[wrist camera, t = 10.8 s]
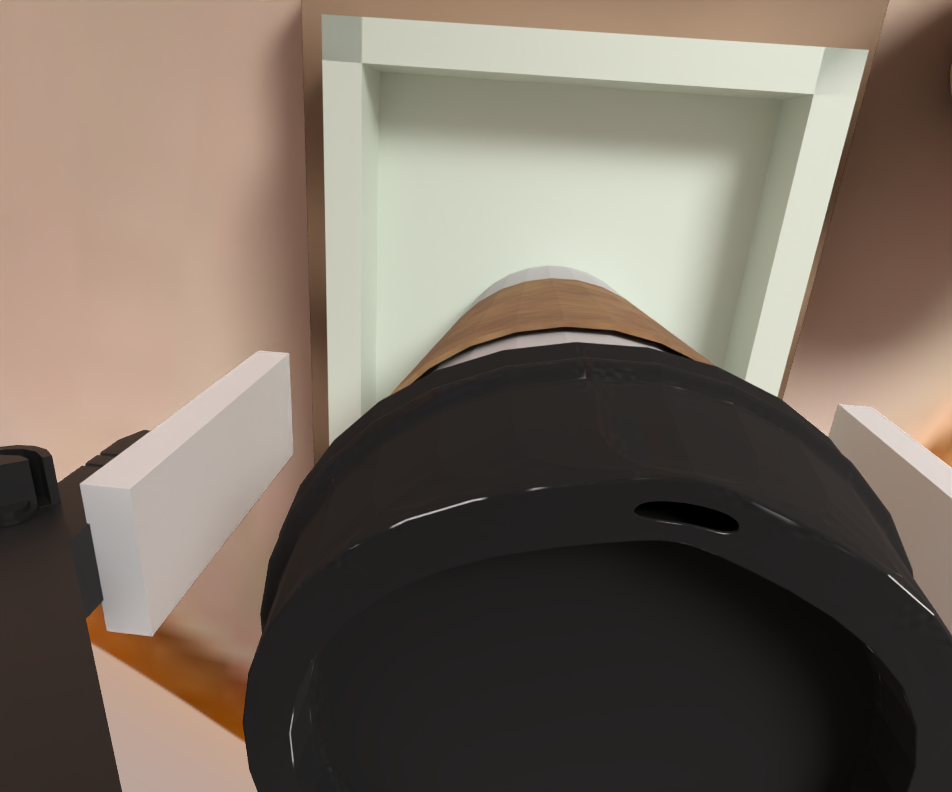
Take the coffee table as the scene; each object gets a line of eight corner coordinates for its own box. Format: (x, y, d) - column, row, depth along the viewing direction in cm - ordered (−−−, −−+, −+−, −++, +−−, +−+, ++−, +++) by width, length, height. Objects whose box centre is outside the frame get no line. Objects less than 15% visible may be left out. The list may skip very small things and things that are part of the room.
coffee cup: (717, 247, 19) (1275, 548, 5) (644, 494, 22) (846, 1114, 8) (434, 198, 19) (158, 349, 5) (402, 451, 22) (179, 985, 8)
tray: (353, 34, 18) (321, 14, 15) (815, 65, 18) (869, 49, 15) (354, 557, 25) (332, 608, 22) (689, 592, 24) (710, 650, 21)
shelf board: (326, -28, 20) (300, -52, 18) (849, 4, 19) (893, -16, 17) (335, 557, 28) (317, 594, 26) (702, 596, 27) (718, 638, 25)
